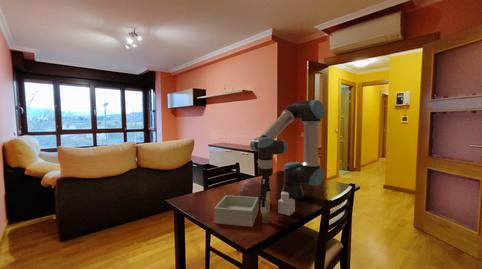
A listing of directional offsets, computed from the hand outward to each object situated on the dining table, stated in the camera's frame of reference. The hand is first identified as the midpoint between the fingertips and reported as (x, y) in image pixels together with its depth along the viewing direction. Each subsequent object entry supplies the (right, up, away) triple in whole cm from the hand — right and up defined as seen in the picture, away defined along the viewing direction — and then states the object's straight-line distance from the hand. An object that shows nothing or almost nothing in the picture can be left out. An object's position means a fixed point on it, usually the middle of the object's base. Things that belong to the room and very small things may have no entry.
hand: (265, 207), depth 117 cm
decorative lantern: (-8, -6, +26) cm, 28 cm away
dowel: (0, -7, +1) cm, 8 cm away
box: (-14, -7, +7) cm, 18 cm away
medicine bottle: (+13, -7, +12) cm, 19 cm away
